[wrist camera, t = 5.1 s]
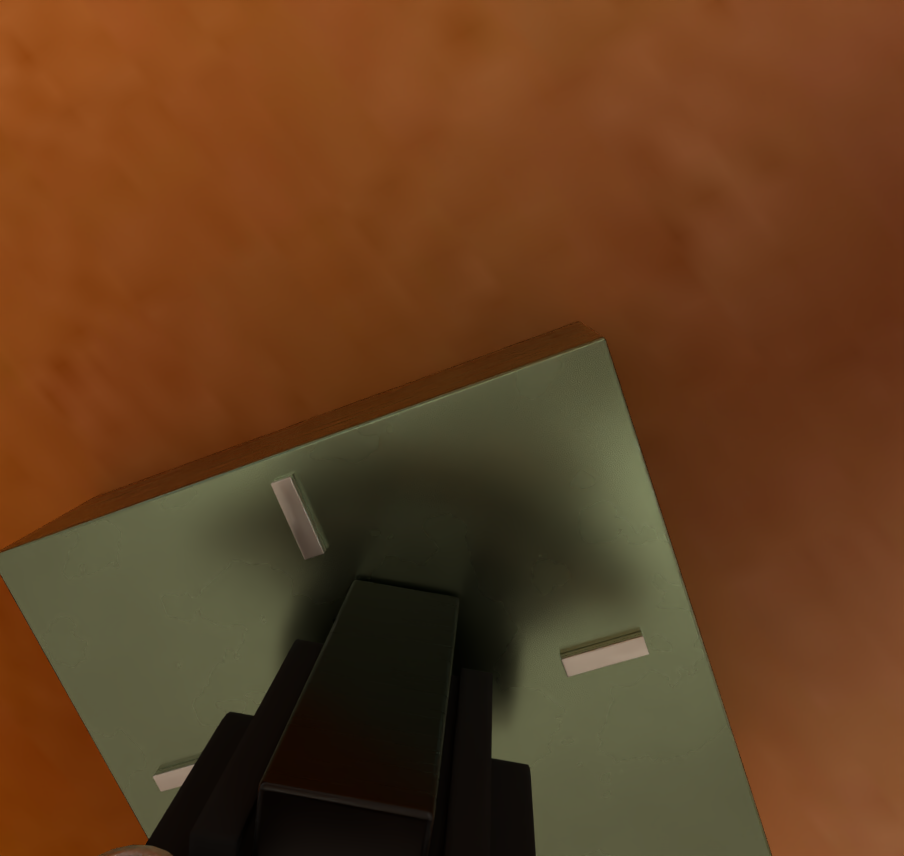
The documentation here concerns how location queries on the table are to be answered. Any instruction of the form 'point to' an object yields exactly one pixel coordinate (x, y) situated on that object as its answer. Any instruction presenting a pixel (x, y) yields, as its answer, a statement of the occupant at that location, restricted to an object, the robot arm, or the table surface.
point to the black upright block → (365, 732)
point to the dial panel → (419, 568)
